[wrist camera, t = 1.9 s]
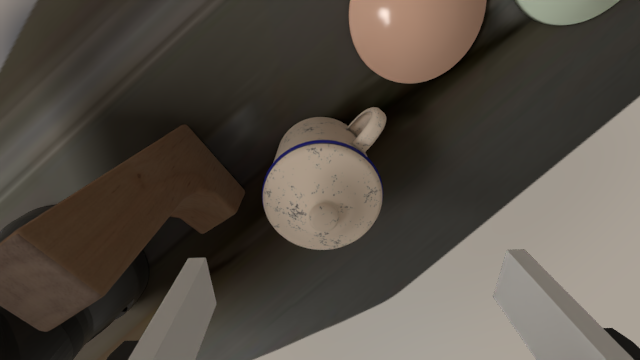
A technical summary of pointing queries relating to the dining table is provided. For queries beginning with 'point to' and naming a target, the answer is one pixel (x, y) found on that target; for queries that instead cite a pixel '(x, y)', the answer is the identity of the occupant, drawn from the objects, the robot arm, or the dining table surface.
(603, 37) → the dining table surface
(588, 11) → the sage coaster
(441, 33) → the pink coaster
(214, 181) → the wooden block
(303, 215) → the teacup with lid
